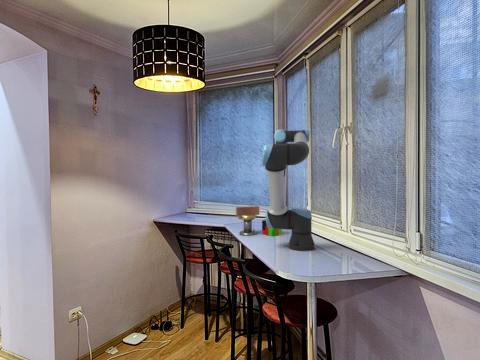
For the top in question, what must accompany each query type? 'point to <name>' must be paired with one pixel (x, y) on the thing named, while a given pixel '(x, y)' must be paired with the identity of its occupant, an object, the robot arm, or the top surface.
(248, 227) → the post
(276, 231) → the puzzle toy
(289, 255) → the top surface
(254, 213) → the coupling
